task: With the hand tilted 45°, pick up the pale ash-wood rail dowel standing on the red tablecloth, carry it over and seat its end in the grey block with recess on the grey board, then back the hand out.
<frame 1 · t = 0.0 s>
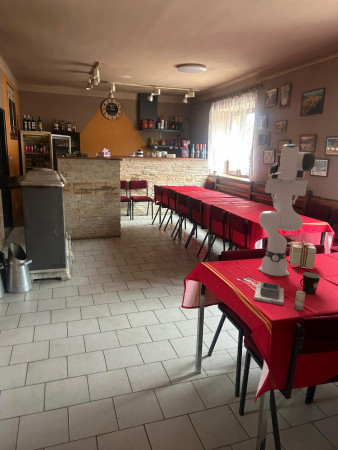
hand: (283, 203, 174), 48 cm above the table, tool pointing down, fingers open, 8 cm apart
gift box: (298, 266, 230), on the table
coffee mug: (306, 292, 183), on the table
grey block with recess: (269, 295, 175), on the table
rail dowel: (298, 308, 161), on the table
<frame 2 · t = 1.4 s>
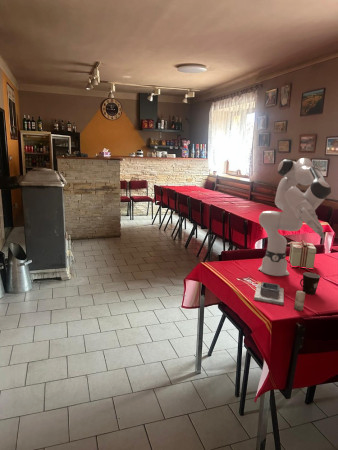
hand: (319, 234, 159), 36 cm above the table, tool tilted 55°, fingers open, 8 cm apart
nothing on the table moved.
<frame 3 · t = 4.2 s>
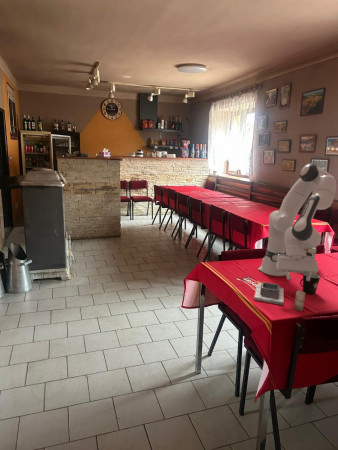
hand: (298, 280, 166), 12 cm above the table, tool tilted 45°, fingers open, 8 cm apart
nothing on the table moved.
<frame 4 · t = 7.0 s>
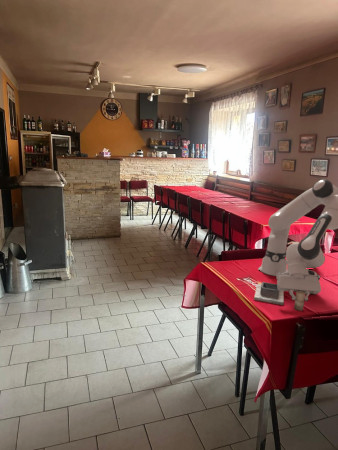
hand: (300, 300, 159), 5 cm above the table, tool tilted 45°, fingers closed on rail dowel, 4 cm apart
rail dowel: (298, 308, 161), on the table, touching gripper
everything else where it was.
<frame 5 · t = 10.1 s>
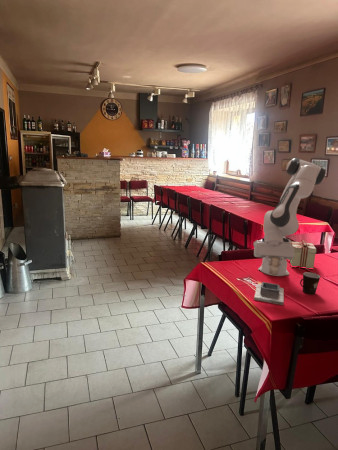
hand: (274, 265, 171), 17 cm above the table, tool tilted 45°, fingers closed on rail dowel, 4 cm apart
rail dowel: (273, 273, 172), point 12 cm above the table, touching gripper
everything else where it was.
when the fingers open (7 cm above the table, at t = 13.7 s): rail dowel drops 1 cm, resting on grey block with recess.
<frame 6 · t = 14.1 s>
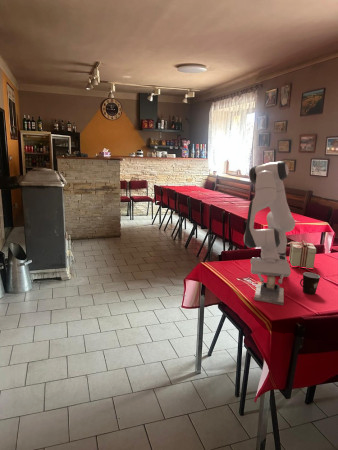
hand: (271, 282, 173), 7 cm above the table, tool tilted 45°, fingers open, 8 cm apart
rail dowel: (269, 292, 175), point 1 cm above the table, touching grey block with recess
everything else where it was.
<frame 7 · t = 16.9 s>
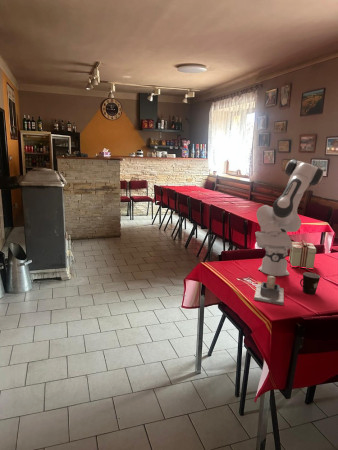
hand: (278, 255, 172), 22 cm above the table, tool tilted 45°, fingers open, 8 cm apart
nothing on the table moved.
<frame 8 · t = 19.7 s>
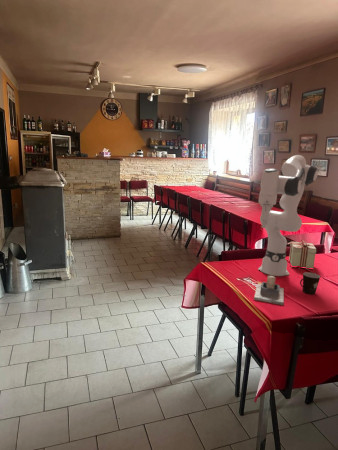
hand: (264, 226, 176), 35 cm above the table, tool pointing down, fingers open, 8 cm apart
nothing on the table moved.
at the end: rail dowel 0.0 cm off-centre on the grey block with recess, point 1.5 cm above the grey block with recess's base; rail dowel tilted 0°; the gripper is holding nothing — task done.
